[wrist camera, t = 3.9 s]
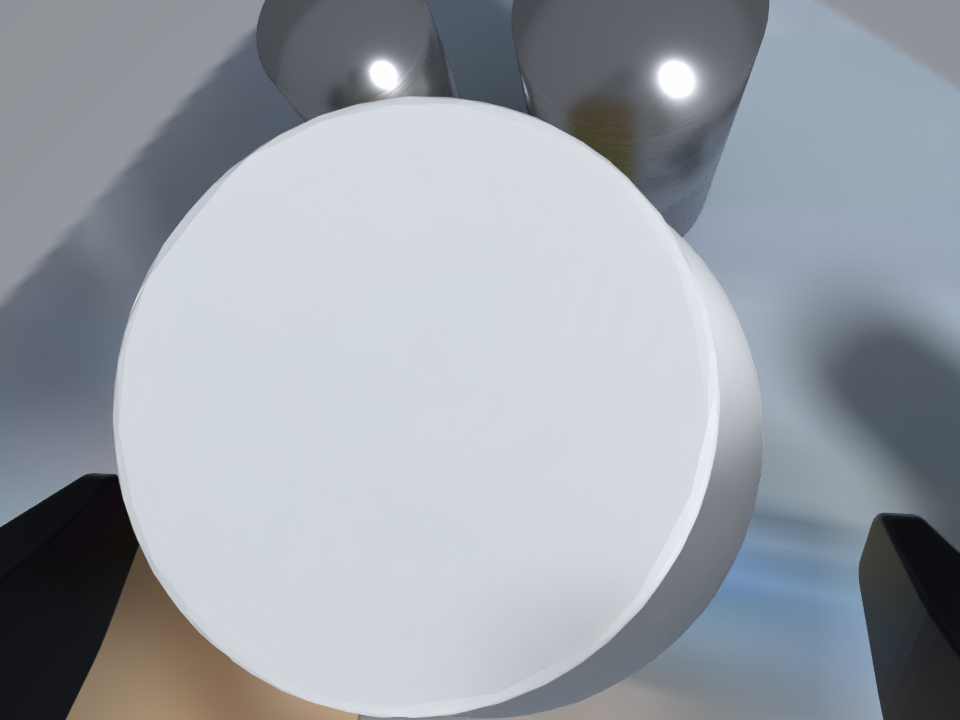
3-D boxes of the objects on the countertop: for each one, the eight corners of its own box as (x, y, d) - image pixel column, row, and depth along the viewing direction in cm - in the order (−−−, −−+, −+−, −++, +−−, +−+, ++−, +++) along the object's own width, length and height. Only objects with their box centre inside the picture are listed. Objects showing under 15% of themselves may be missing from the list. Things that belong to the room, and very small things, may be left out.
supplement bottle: (356, 405, 19) (-122, 244, 6) (584, 268, 19) (546, -183, 6) (488, 653, 17) (199, 1067, 5) (738, 508, 17) (1106, 561, 5)
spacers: (1360, 892, 14) (2056, 1263, 7) (285, 351, 19) (114, 277, 13) (1528, 438, 15) (2300, 396, 8) (449, 34, 20) (372, -196, 13)
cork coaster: (268, 908, 17) (262, 916, 17) (6, 725, 19) (-3, 729, 19) (425, 587, 18) (422, 589, 18) (158, 439, 20) (152, 438, 19)
